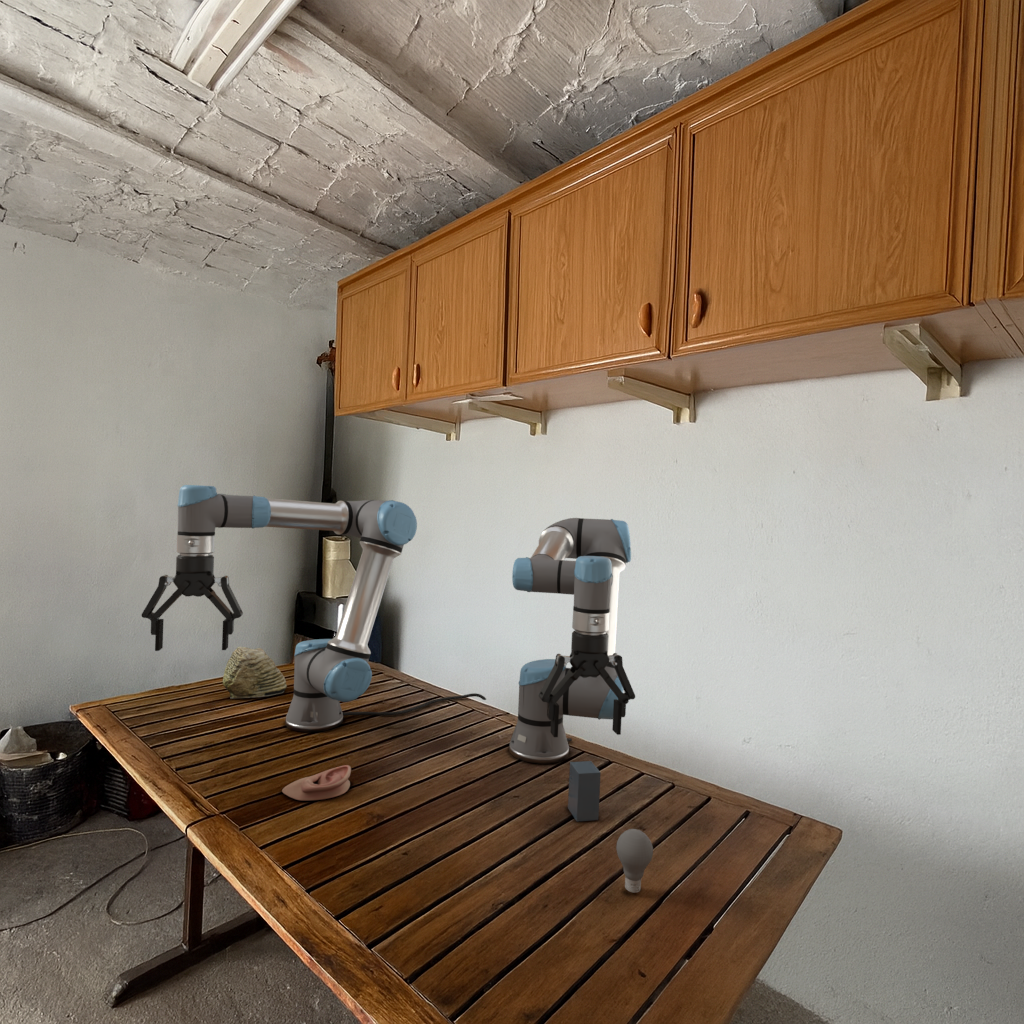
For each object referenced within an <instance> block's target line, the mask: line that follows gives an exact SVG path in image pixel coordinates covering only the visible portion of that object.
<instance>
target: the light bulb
mask: <svg viewBox="0 0 1024 1024" xmlns="http://www.w3.org/2000/svg"><path fill="white" fill-rule="evenodd" d="M615 849H616V854H617V857H618V859H619V861H620V863H621V865H622V867H623V873H624V874H623V875H624V876H625V878H624V888H625V890H627V891H628V892H630V893H634V894H635V893H639V892H640V891H641V889H642V887H641V886H642V879H643V877H644V875H645V871H646V868H647V867H648V866H649V864H650V863H651V861H652V859H653V855H654V847H653V843H652V841H651V838H649V836H648V835H647V834H646V833H645V832H643V831H642V830H641V829H636V828H629V829H627V830H625V831H623V832H622V833H621V834H620V835H619V837H618V839H617V841H616V847H615Z"/></svg>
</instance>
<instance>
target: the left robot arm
mask: <svg viewBox="0 0 1024 1024" xmlns="http://www.w3.org/2000/svg"><path fill="white" fill-rule="evenodd" d="M216 528H218V529H219V528H220V529H223V528H226V529H227V528H228V529H229V528H231V529H232V528H233V529H234V528H235V529H261V528H279V529H296V530H312V531H313V530H314V531H333V532H334V534H336V535H340V536H342V535H343V536H350V537H355V538H359V545H360V547H361V549H362V551H361V556H360V558H359V561H358V565H357V568H356V571H355V574H354V578H353V581H352V583H351V586H350V590H349V593H348V597H347V599H346V603H345V606H344V608H343V612H342V615H341V618H340V621H339V624H338V628H337V631H336V634H335V636H333V638H319V639H308V640H303V641H300V642H297V644H296V645H295V650H294V655H293V656H294V672H293V695H292V696H293V697H292V699H291V702H290V704H289V708H288V711H287V713H286V715H285V726H286V728H287V729H289V730H291V731H294V732H295V731H296V732H301V733H316V732H325V731H329V730H332V729H335V728H337V727H339V726H340V725H342V723H343V722H344V717H347V716H379V717H381V716H382V717H385V716H386V717H387V716H389V717H390V716H399V715H403V714H407V713H410V712H414V711H417V710H420V709H422V708H425V707H428V706H430V705H431V704H436V703H439V702H444V701H451V700H460V699H461V700H462V699H466V698H471V697H473V698H474V697H476V698H480V699H481V700H483V701H486V700H487V698H486V697H485V696H484V695H483V694H481V693H476V692H475V693H467V694H463V695H454V696H446V697H440V698H436V699H435V698H434V699H431V700H429V701H426V702H424V703H422V704H418V705H416V706H413V707H410V708H407V709H402V710H398V711H387V712H385V711H384V712H383V711H343V709H342V706H341V702H343V703H348V702H349V703H350V702H353V701H355V700H357V699H358V698H359V697H361V696H362V695H364V694H365V693H366V691H367V690H368V688H369V687H370V685H371V682H372V679H373V678H372V677H373V673H372V672H373V671H372V669H371V666H370V664H369V660H370V657H371V654H372V652H371V649H370V648H369V645H368V644H369V641H370V638H371V635H372V630H373V627H374V625H375V621H376V617H377V615H378V612H379V608H380V606H381V602H382V598H383V595H384V592H385V588H386V586H387V582H388V579H389V576H390V572H391V569H392V566H393V562H394V560H395V559H396V558H397V557H400V556H401V555H402V552H403V549H404V546H405V545H407V544H408V543H409V542H411V541H412V540H413V539H414V537H415V536H416V533H417V529H418V520H417V516H416V515H415V513H414V510H413V508H411V507H410V506H409V505H408V504H406V503H404V502H401V501H398V500H397V501H396V500H393V499H389V500H381V499H364V500H338V501H337V502H335V503H333V502H320V501H319V502H318V501H307V500H297V499H296V500H295V499H282V498H273V497H271V498H270V497H265V496H257V495H240V494H239V495H238V494H226V493H218V492H217V487H216V486H214V485H199V484H198V485H197V484H183V485H182V486H181V487H180V488H179V493H178V501H177V535H176V553H178V555H177V556H176V558H175V575H174V576H170V575H168V574H163V575H161V576H160V577H159V578H158V585H157V587H156V588H155V590H154V592H153V594H152V596H151V597H150V599H149V601H148V603H147V604H146V606H145V608H144V609H143V611H142V612H141V617H142V618H143V619H147V620H150V634H151V636H155V637H154V638H155V639H154V652H159V651H161V650H162V649H163V647H164V646H163V645H164V644H163V643H164V618H161V617H162V616H163V614H165V613H166V611H168V610H169V608H171V606H172V605H174V603H175V602H176V601H177V600H178V599H179V598H180V597H181V596H185V597H197V598H198V597H203V596H205V598H207V600H209V601H210V602H211V604H212V605H213V606H214V607H215V608H216V609H217V610H218V611H219V612H220V614H221V615H222V616H223V617H224V618H225V619H223V620H222V635H221V637H222V640H221V651H226V650H227V649H228V648H229V635H232V634H233V633H234V627H235V619H240V618H241V617H242V616H243V615H244V612H243V610H242V608H241V605H240V603H239V602H238V599H237V598H236V596H235V593H234V592H233V589H232V587H231V586H230V577H229V575H223V576H217V577H216V576H215V573H214V569H215V556H214V555H213V554H214V553H215V545H216V544H215V543H216V541H215V540H216ZM172 583H173V584H174V585H175V587H176V588H177V589H175V591H174V592H173V593H172V594H171V595H170V597H168V599H166V600H165V601H164V602H163V604H161V605H160V606H159V607H158V609H156V611H155V612H154V610H155V608H156V606H157V605H158V604H159V601H160V599H161V598H162V596H163V594H164V593H165V591H166V590H167V587H168V586H170V585H171V584H172ZM215 584H217V586H218V587H221V590H222V592H223V594H224V596H225V598H226V601H227V602H228V604H229V606H230V608H231V610H230V608H229V607H228V606H227V605H226V603H225V602H224V601H223V600H222V599H221V598H220V596H219V595H217V592H216V591H215V590H214V588H212V587H213V586H214V585H215Z"/></svg>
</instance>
